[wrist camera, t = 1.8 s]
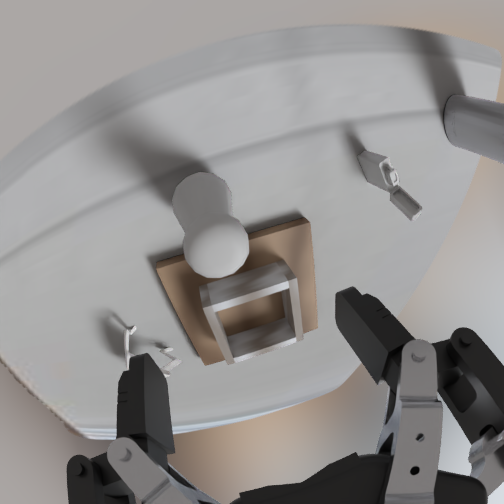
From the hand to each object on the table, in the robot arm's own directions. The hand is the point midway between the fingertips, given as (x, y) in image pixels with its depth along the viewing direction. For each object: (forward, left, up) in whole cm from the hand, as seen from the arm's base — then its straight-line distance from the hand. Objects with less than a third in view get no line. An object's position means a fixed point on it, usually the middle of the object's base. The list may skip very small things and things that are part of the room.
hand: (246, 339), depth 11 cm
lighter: (-21, +3, -20) cm, 29 cm away
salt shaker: (0, 0, -20) cm, 20 cm away
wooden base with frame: (-2, +15, -20) cm, 25 cm away
